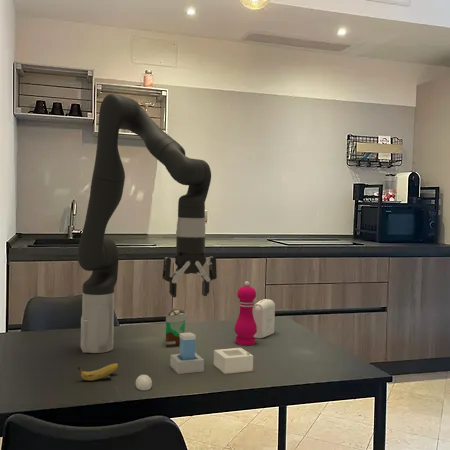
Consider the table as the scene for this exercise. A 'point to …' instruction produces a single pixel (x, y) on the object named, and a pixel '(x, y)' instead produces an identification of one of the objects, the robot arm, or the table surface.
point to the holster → (187, 364)
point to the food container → (175, 326)
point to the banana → (98, 372)
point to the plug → (187, 346)
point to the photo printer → (264, 317)
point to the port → (233, 360)
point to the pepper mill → (246, 316)
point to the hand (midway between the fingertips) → (189, 296)
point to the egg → (143, 382)
